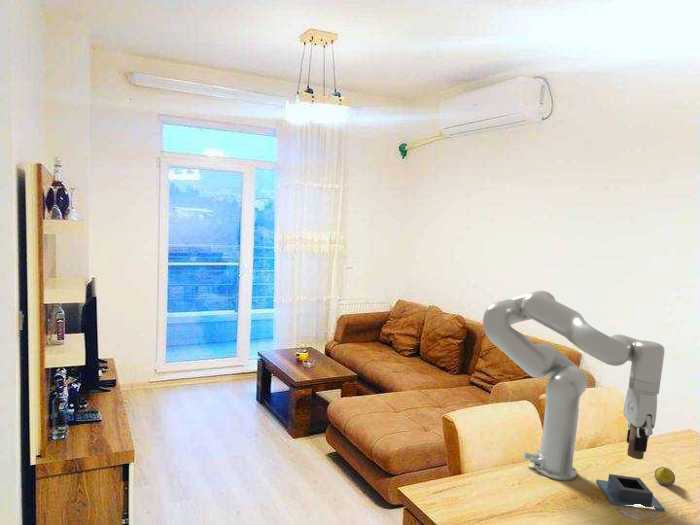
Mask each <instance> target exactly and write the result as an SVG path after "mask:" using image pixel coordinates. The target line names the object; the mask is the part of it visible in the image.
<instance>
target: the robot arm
mask: <svg viewBox="0 0 700 525" xmlns="http://www.w3.org/2000/svg"><path fill="white" fill-rule="evenodd" d="M530 320H533V321H535V322H536V323H538V324H540V325H542V326H544V327H546V328H548V329H550V330H551V331H553V332H555V333H557V334H558V335H561V336H563V337H564V338H565V339H566V340H568V341H569V342H570V343H572V345H574V346H575V347H576V348H578V349H579V350H581V351H582V352H584V353H585V354H587V355H588V356H591V357H593V358H595V359H597V360H598V361H600V362H602V363H603V364H607V365H609V366H613V367H617V366H618V367H619V366H623V365H624V364H626V363H627V362H629V361H630V364H631V365H630V373H629V381H628V388H627V392H626V396H625V400H624V407H623V417H625V419H626V420H627V421H628V423H627V435H626V443H627V444H629V437H630V429H631V423H632V424H633V425H634V426H635V427H637V436H635V441H634V448H633V449H634V450H635V451H642V452H644V453H645V452H647V447H648V441H649V438H650V436H652V435H653V429H654V428H655V425H656V421H657V411H658V410H657V409H658V394H659V393H660V389H661V380H662V373H663V372H662V371H663V366H664V358H665V347H664V345H663V344H662V343H661V344H660V343H658V342H655V341H649V340H642V339H641V340H640V339H637V338H635V337H634V338H633V337H631V336H627V335H623V334H614V335H613V334H612V336H609V335H607V334H605V333H603V332H602V331H600V330H598V329H597V328H594V327H593V326H591V325H590V324H589V323H588V322H587V321H586V320H585V319H584V317H583V316H582V314H581V313H579V311H577V310H575V309H572V308H570V307H568V306H567V305H565V304H562V303H561V302H558V300H557V301H556V298H555V296H554V295H553V294H551V293H550V292H549V291H547V290H537V291H533V292H531V293H527V294H523V295H519V296H516V297H512V298H507V299H503V300H500V301H497V302H493V303H492V304H490V305H489V306H488V307H487V308H486V309H485V311H484V313H483V317H482V327H483V331H484V333H485V335H486V337H487V338H488V339H489V341H490V342H491V343H492V344H493V345H494V346H496V348H498V349H499V350H500V351H501V352H502V353H504V354H505V355H506V356H507V357H508V358H509V359H510V360H512V362H514V363H515V364H516V365H517V366H519V368H521V369H522V371H524V373H526V374H527V375H529V376H530V377H532V378H535V379H540V378H544V377H546V378H547V379H548V381H547V383H546V388H545V409H544V418H543V426H542V427H543V428H542V435H541V444H540V445H541V446H540V450H537V452H534V453H531V452H524V453H523V459H524V460H529V463H533V468H534V469H535V470H536V471H537V472H539V473H540V474H542V475H543V476H545V477H548V478H551V479H552V480H558V481H573V480H574V479H576V478H577V476H578V471H577V469H576V468H575V467H574V466H573V464H574V463H573V461H574V454H575V446H576V445H575V444H576V438H577V432H578V431H577V430H578V422H579V421H578V420H579V412H580V407H579V406H580V398H581V396H582V395H583V394H584V393H585V392H586V390H587V388H588V385H589V384H588V381H589V380H588V378H587V375H586V373H585V372H584V371H583V370H582V369H581V368H580V367H579V366H577V364H575V363H574V362H573V361H572V360H570V359H569V358H568V357H567V356H566V355H564V354H563V353H562V352H560V351H559V350H558V349H556V347H553V346H552V345H550V344H547V343H538V344H535V343H534V342H532V341H531V340H530V339H529V338H527V337H526V336H525V335H524V334H523V333H522V332H520V331H518V330H516V329H515V328H513V326H512V325H513V324H517V323H520V322H525V321H530ZM643 425H645V427H644V426H643ZM641 429H645V431H642V432H641Z"/></svg>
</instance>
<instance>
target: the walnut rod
mask: <svg viewBox="0 0 700 525" xmlns="http://www.w3.org/2000/svg"><path fill="white" fill-rule="evenodd" d="M643 426H644V427H645V425H643ZM642 431H645V429H641V432H642ZM635 436H637V427H635V426H634V425H633V424H632V423H631V429H630V437H629V443H628V446H627V456H628V457H631V458H633V459H635V460H644V455H645V452H642V451H635V450H634V449H633V448H634V441H635Z"/></svg>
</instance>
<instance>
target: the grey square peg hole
mask: <svg viewBox="0 0 700 525" xmlns="http://www.w3.org/2000/svg"><path fill="white" fill-rule="evenodd" d="M595 483H596V484H597V485H598V487H599V489H600V491H601V492H602V493H603V495H604V496H605V497H606V500H607V501H608V502H609V503H610V504H611V505H612V506H613V505H614V506H622V507H625V506H624V505H634V504H641V505H643V506H645V507H653V506H654V508H655V509H656V510H655V511H656V512H657V511H658V512H665V507H664V506H663V505H662V504H661V502H659V500H658V499H657V498H656V496H654V493H653V492H652V491H651V490H650V488H649V487H648V486H647V485H646V484H645V483H644V481H643V480H642V479H641V477H634V476H625V475H618V474H611V473H608V480H603V479H596V480H595Z"/></svg>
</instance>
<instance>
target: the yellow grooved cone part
mask: <svg viewBox="0 0 700 525" xmlns="http://www.w3.org/2000/svg"><path fill="white" fill-rule="evenodd" d="M654 479H655V480H656V482H657V483H658V484H660V485H662V486H665V487H669V486H673V484H675V482H676V475H675V473H674V472H673V470H672V469H671V468H668V467H666V466H661V467H658V468H657V469H656V470H654Z"/></svg>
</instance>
